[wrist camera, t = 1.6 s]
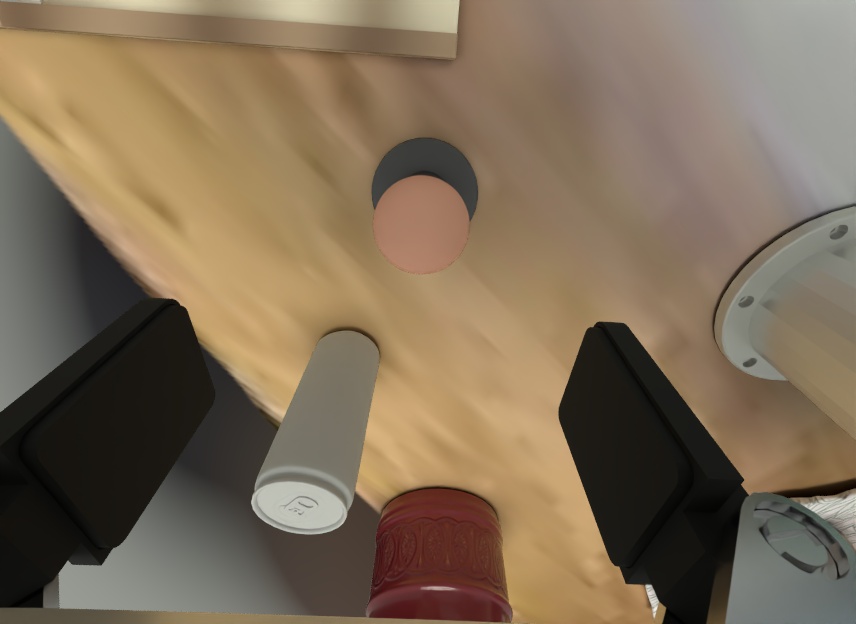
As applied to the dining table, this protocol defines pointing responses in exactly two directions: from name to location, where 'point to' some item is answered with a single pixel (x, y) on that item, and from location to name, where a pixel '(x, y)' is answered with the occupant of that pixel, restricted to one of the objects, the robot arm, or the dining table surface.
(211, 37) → the lane
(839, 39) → the dining table surface
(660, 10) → the dining table surface
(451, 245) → the ball
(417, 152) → the tee
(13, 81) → the dining table surface
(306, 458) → the beverage can
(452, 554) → the canister
